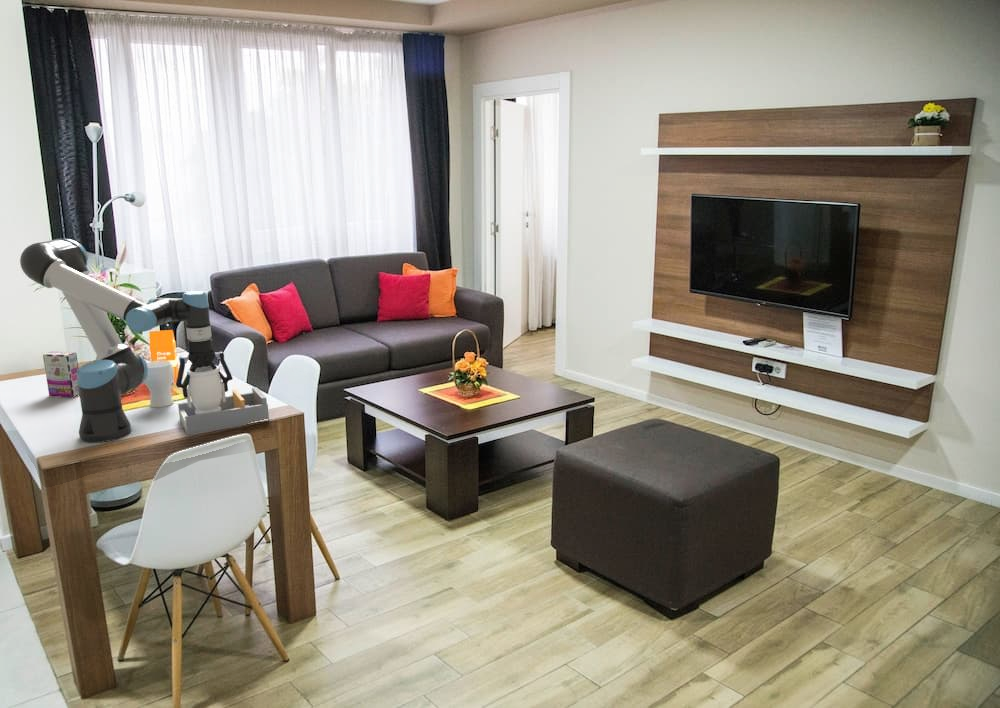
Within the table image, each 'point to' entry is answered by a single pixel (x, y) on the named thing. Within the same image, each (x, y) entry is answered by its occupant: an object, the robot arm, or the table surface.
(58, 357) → the candy bar box
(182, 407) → the gray open tray
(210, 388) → the jar
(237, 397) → the block
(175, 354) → the orange juice
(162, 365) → the cup
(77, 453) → the table surface
